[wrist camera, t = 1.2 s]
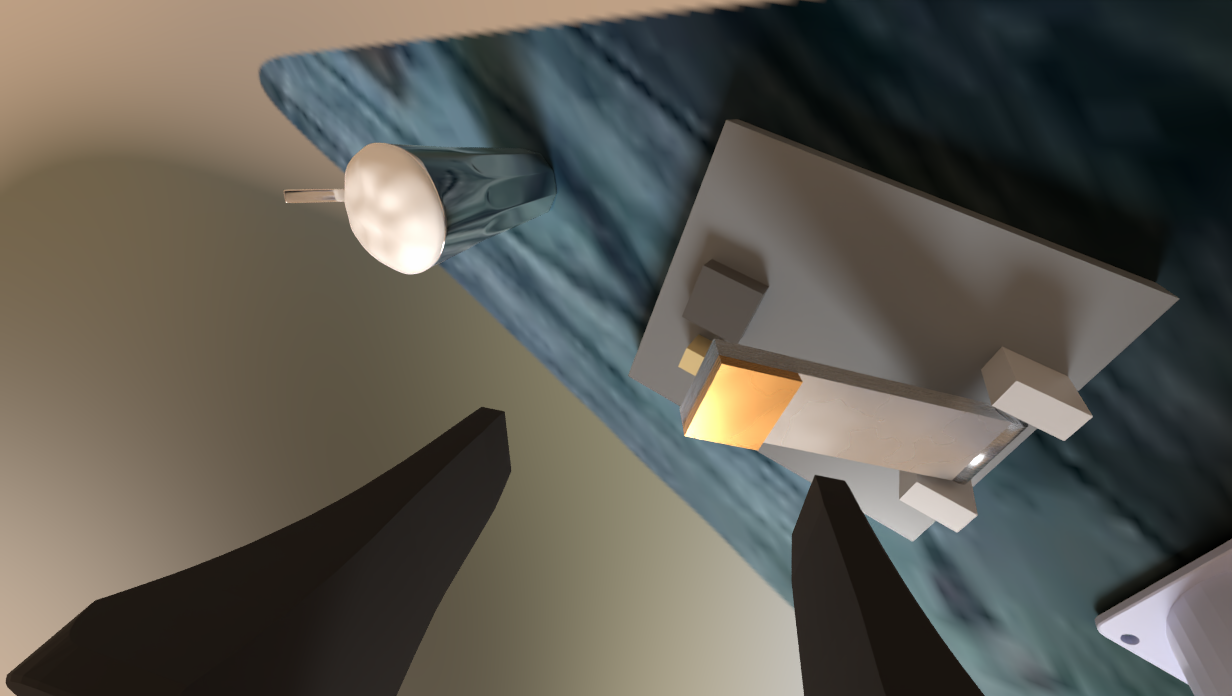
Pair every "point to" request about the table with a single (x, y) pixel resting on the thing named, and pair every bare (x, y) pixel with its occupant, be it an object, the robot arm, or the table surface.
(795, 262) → the base board
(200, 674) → the robot arm
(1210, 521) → the table surface
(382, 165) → the milkshake
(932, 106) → the table surface
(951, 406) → the latch bar
